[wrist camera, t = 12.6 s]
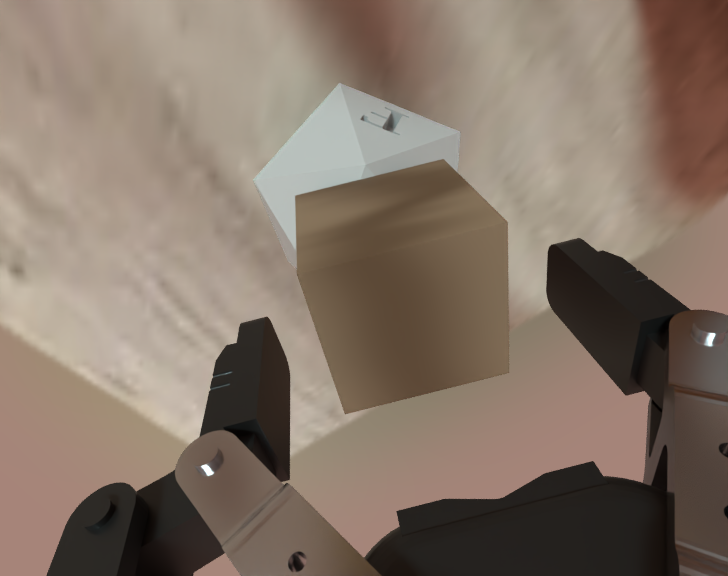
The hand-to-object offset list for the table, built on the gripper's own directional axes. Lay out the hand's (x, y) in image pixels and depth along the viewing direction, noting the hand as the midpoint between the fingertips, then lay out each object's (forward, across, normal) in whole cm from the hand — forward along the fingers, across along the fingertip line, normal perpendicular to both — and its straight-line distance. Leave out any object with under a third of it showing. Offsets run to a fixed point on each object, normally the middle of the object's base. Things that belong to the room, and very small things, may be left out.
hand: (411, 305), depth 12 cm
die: (+12, 0, 0) cm, 12 cm away
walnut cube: (+4, 0, 0) cm, 4 cm away
